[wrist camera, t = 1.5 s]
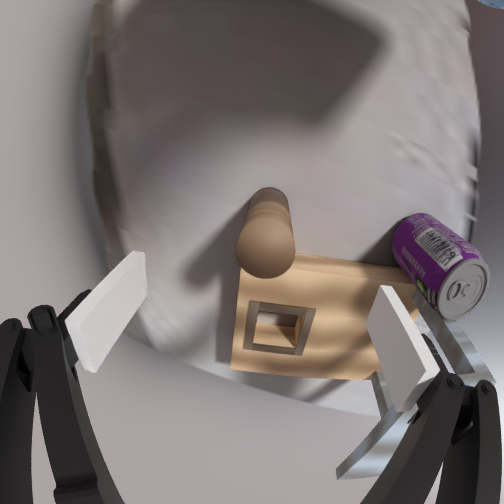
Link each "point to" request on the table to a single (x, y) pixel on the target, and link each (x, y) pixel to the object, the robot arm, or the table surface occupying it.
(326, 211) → the table surface
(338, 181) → the table surface
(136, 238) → the table surface
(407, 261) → the beverage can
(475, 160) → the table surface
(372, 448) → the socket station
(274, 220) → the peg
